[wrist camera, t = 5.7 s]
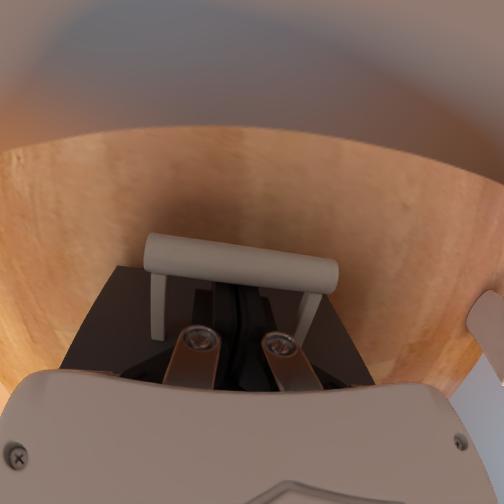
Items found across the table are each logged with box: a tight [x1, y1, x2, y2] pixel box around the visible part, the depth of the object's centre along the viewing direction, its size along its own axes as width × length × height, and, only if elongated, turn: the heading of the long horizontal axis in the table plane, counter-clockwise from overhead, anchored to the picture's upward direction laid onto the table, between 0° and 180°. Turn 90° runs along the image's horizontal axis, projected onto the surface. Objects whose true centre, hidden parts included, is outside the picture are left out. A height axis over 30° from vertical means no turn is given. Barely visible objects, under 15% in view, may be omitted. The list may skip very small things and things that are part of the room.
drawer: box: [59, 233, 376, 391], centre depth 14 cm, size 16×13×9 cm
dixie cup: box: [466, 290, 504, 387], centre depth 19 cm, size 8×8×10 cm
